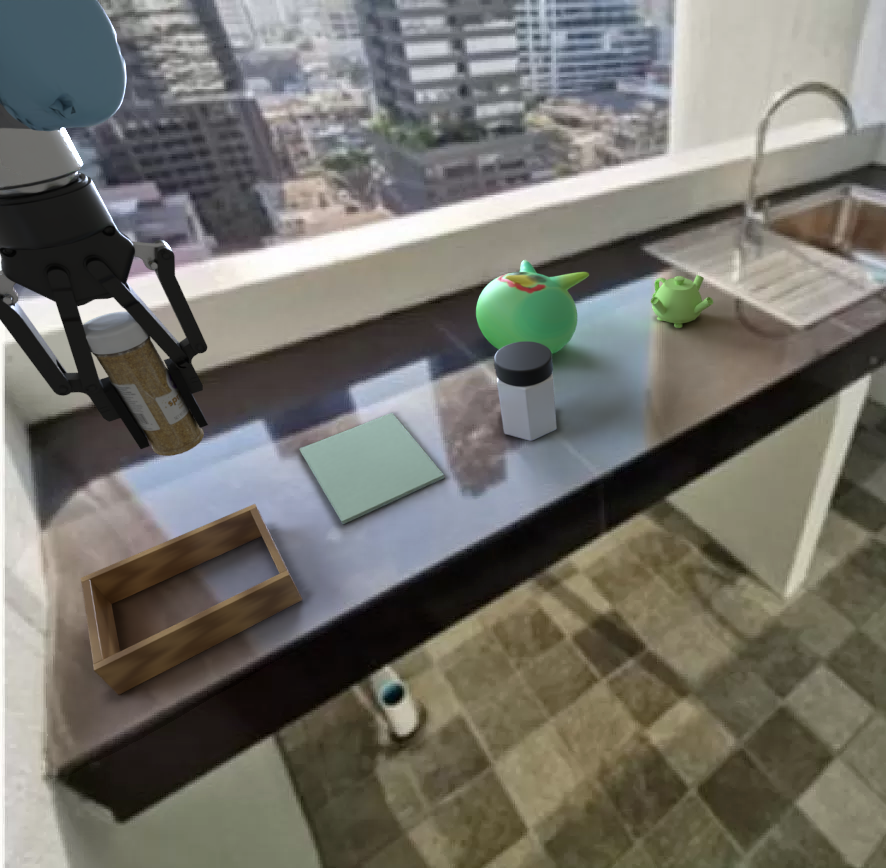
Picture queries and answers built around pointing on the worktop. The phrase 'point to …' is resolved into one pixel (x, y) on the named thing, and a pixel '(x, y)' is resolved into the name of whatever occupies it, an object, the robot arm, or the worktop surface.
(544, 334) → the toy bird
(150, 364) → the spice bottle
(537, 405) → the jar
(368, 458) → the mat
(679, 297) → the teapot
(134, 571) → the wooden tray
